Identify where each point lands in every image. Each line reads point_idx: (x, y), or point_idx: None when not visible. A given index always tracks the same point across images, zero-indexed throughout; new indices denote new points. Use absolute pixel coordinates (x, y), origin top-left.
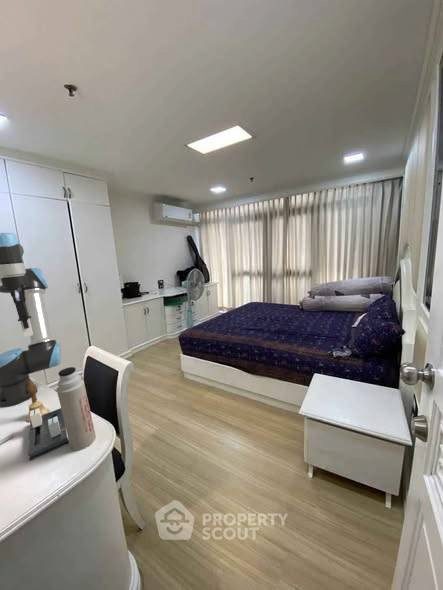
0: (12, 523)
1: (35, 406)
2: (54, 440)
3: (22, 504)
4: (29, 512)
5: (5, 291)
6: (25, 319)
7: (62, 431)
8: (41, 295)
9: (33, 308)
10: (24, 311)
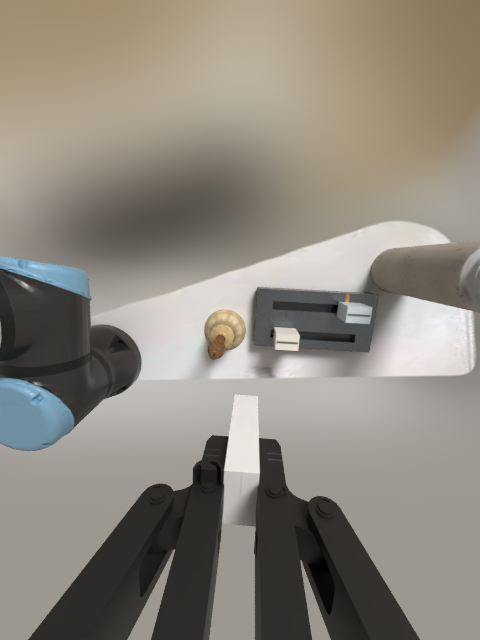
0: (472, 368)
1: (233, 337)
2: None
3: (451, 358)
4: (474, 352)
5: None
6: (298, 505)
7: (352, 299)
8: None
9: None
10: (393, 609)
